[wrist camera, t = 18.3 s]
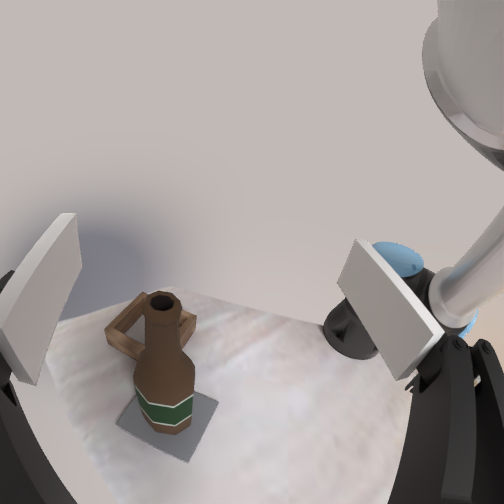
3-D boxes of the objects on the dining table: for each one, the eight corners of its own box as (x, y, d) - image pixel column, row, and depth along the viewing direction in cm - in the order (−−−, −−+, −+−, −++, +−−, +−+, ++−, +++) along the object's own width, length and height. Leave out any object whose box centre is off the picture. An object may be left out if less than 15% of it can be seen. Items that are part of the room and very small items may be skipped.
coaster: (218, 403, 40) (218, 402, 39) (188, 463, 29) (188, 462, 29) (153, 373, 42) (153, 371, 41) (116, 425, 31) (115, 423, 31)
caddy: (195, 329, 52) (196, 315, 50) (164, 374, 42) (163, 361, 40) (143, 306, 54) (142, 291, 52) (107, 343, 44) (104, 329, 42)
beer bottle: (158, 386, 39) (152, 265, 27) (201, 407, 38) (219, 294, 26) (133, 420, 33) (100, 307, 21) (179, 445, 31) (177, 350, 19)
